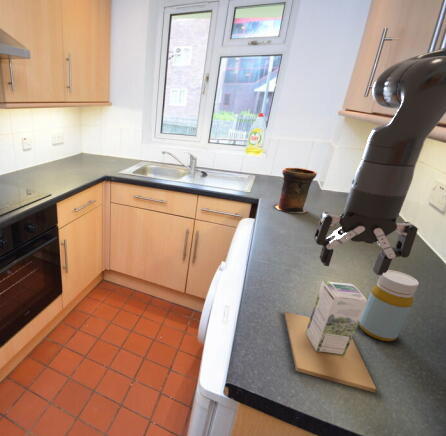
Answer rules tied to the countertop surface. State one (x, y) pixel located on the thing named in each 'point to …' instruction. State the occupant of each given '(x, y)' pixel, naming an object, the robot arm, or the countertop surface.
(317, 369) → the oak board
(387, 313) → the bottle
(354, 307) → the syrup box
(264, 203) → the countertop surface
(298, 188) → the vessel
